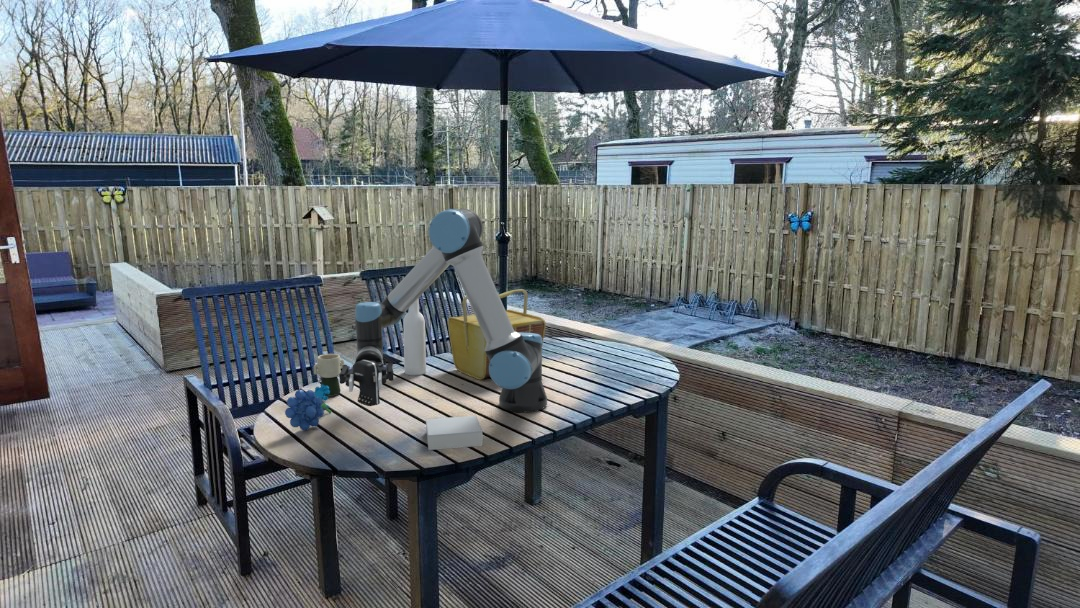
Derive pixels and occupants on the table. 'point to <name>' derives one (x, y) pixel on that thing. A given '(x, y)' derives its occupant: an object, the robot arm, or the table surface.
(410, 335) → the bottle
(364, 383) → the battery charger
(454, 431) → the stand
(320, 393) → the blue green lumpy piece
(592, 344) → the table surface
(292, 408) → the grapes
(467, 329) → the picnic basket
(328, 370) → the character mug
